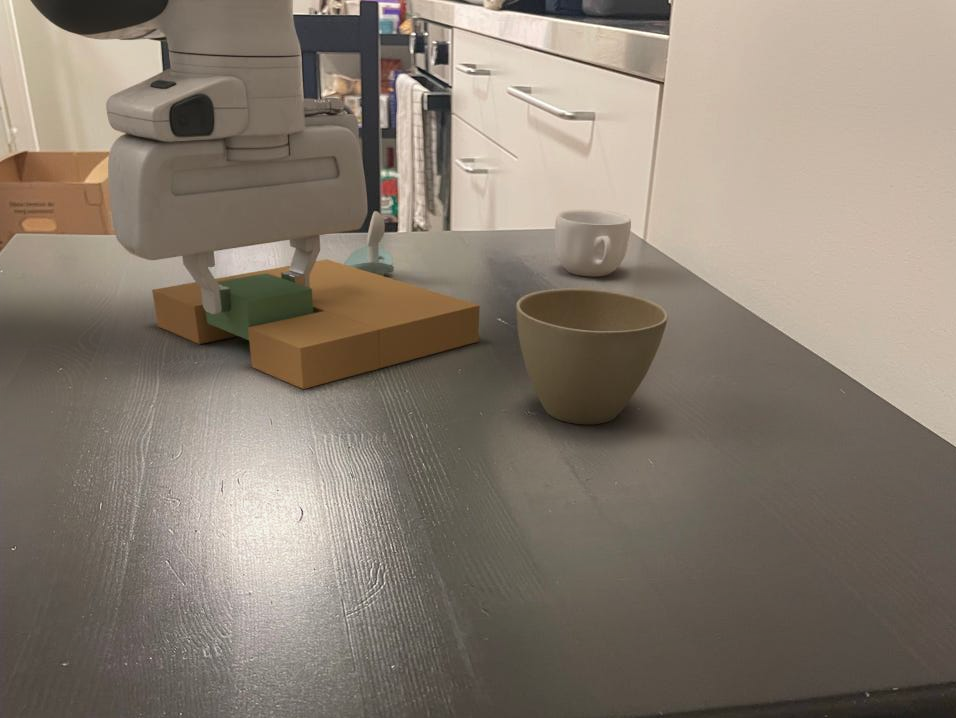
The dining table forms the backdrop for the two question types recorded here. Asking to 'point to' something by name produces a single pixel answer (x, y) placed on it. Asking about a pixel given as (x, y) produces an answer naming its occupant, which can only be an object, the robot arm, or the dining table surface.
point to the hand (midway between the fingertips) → (257, 303)
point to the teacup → (591, 241)
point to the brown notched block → (335, 325)
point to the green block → (261, 303)
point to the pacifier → (372, 250)
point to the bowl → (587, 349)
